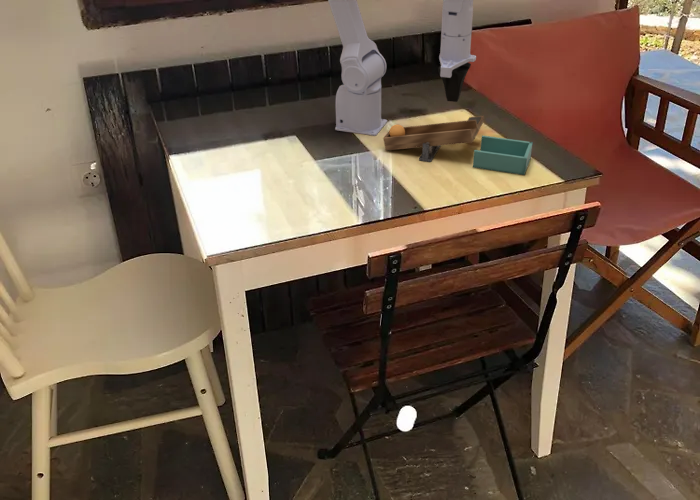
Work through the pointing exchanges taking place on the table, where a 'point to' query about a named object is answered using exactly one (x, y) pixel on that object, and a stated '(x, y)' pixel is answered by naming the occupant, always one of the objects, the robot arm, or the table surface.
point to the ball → (397, 130)
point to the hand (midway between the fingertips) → (452, 100)
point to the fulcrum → (428, 152)
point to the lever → (436, 134)
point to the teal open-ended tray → (503, 155)
